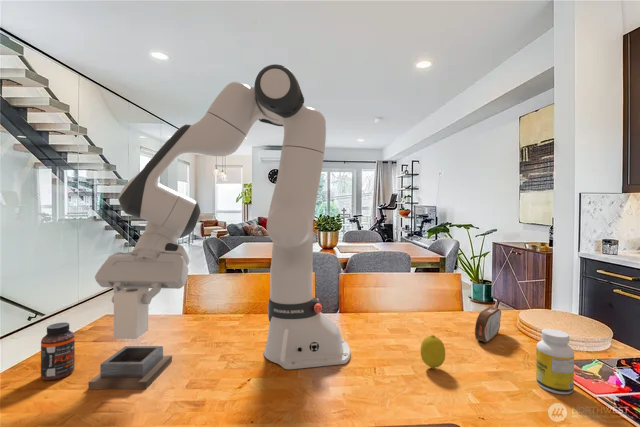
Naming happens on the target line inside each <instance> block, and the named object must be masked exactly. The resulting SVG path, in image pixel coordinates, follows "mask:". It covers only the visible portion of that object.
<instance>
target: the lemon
mask: <svg viewBox="0 0 640 427" xmlns="http://www.w3.org/2000/svg"><path fill="white" fill-rule="evenodd" d="M420 356H421V360H422V362H424V364H425V365H426V366H428V367H430V369H431V368H432V369H431V370H434V369H436V368H439V367H441V366H442V365H443V363H444V362H445V360H446V348H445V345H444V343H443V341H442V340H441V339H440V338H438V336H435V335H434V334H431V335H429V336H426V337H424V339H423V340H422V341H421V345H420Z"/></svg>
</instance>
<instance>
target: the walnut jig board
mask: <svg viewBox="0 0 640 427" xmlns="http://www.w3.org/2000/svg"><path fill="white" fill-rule="evenodd" d="M141 361H142V360H135V361H126V362H141ZM172 362H173V355H163V359H162V360H161V361H160V362H159V363H158V364H157V365H156V366H155V367H154V368H153V369H152V370H151V371H150V372H149V373H148V374H147V375H146V376H145V377H144V378H100V373H98V374H97V375H96V376H95V377H93V378H92V379H91V380H89V381H88V384H87V385H88V388H87V389H88V390H147V389H148V388H149V387H150V386H151V385H152V384H153V383H154V382H155V380H157V378H158V377H159V376H160V375H161V374H162V373H163V372H164V371H165V370H166V369H167V368H168V367H169V366H170V364H171V363H172Z"/></svg>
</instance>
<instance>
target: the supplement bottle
mask: <svg viewBox="0 0 640 427" xmlns="http://www.w3.org/2000/svg"><path fill="white" fill-rule="evenodd" d="M40 340H41V341H40V378H41V379H42V380H44V381H54V380H60V379H62V378H65V377H68V376H69V375H71V374H72V373H73V372H74V371H75V364H76V362H75V361H76V358H75V357H76V356H75V347H76V346H75V344H76V342H75V341H76V340H75V333H74V332H73V331H71V330H70V323H69V322H66V321H65V322H56V323H52V324H50V325H48V326H46V334H45V335H44V336H43V337H42V338H41V339H40Z"/></svg>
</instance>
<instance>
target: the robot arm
mask: <svg viewBox="0 0 640 427" xmlns="http://www.w3.org/2000/svg"><path fill="white" fill-rule="evenodd" d="M304 103H305V97H304V95H303V92H302V90H301V86H300V83H299V82H298V80H297V77H296V76H295V74H294V73H293V72H292V71H291V70H290V69H289V68H288V67H286V66H284V65H281V64H269V65H267V66H264V67H263V68H262V69H261V70H260V71H259V72H258V74H257V75H256V78H255V81H254V87H251V86H249V85H248V84H245V83H243V82H240V81H233V82H229V83H228V84H227V85H225V87H224V88H223V89H222V90H221V91H220V92H219V94H218V95H217V96H216V97H215V99H214V100H213V101H212V103H211V104H210V106H209V108H208V109H207V111H206V112H205V114H204V116H203V117H202V118H201V119H199V121H197V122H195V123H193V124H184V125H182V126H180V128H178V129H177V130H176V131H175V132H174V133H173V135H171V137H170V138H169V139H168V140H166V141H165V143H164V144H163V145H162V146H161V147H160V148H159V150H158V151H157V152H155V154H154V155H153V156H152V158H150V160H149V161H148V162H147V163H146V164H145V165H144V167H143V168H142V170H141V171H140V172H139V173H137V174H136V175H135V176H134V177H132V178H131V179H130V180H129V181H128V182H127V183H126V184H125V185H124V186H123V188H121V191H120V193H119V196H118V199H117V200H118V202H119V204H120V207H121V209H122V211H123V212H124V213H125V214H126V215H129V216H132V217H135V218H137V219H142V220H145V221H147V223H146V225H145V228H144V232H143V233H141V235H140V236H139V238H138V239H137V242H136V244H135V246H134V248H133V250H132V251H131V252H129V251H128V252H122V251H121V252H120V251H119V252H118V251H117V252H116V253H113V254H111V255H109V256H108V257H107V259H106V260H105V261H104V262H103V264H102V265H101V267H100V268H99V269H98V270H97V272H96V273H95V275H94V279H95V282H96V283H97V285H99V286H100V287H101V288H113V289H112V290H113V294H114V293H115V292H118V291H120V290H123V289H125V288H149V292H148V293H147V294H143V295H142V298H141V303H142V304H149V305H150V304H151V302H152V299H153V298H155V297H156V296H157V295H158V294H159V293H160V292H161V290H162V289H177V290H178V289H179V290H180V289H182V288H183V287H184V286H185V285H186V283H187V280H188V276H189V275H188V274H189V267H188V265H189V263H190V258H189V255H188V253H187V251H186V250H185V248H184V246H183V245H182V244H178V243H176V242H177V241H178V240H179V239H182V238H184V237H186V236H189V235H190V234H191V233H192V232H193V231H195V230H194V229H195V228H196V225H197V223H198V220H199V217H200V215H201V209H200V204H199V203H198V201H196V200H195V199H194V198H191V197H189V196H187V195H185V194H183V193H181V192H178V191H176V190H174V189H172V188H170V187H168V186H166V185H164V184H162V183H160V182H159V178H160V177H161V176H162V174H163V173H164V172H165V171H166V170H167V168H168V167H169V166H170V165H171V164H172V163H173V162H174V160H175V159H176V158H177V157H179V156H180V155H183V154H188V153H192V154H200V155H206V156H213V157H226V156H229V155H232V154H234V153H235V152H236V151H238V149H239V148H240V146H241V145H242V144H243V142H244V140H246V137H247V135H248V134H249V131H251V128H252V126H253V125H254V124H255V123H256V122H257V121H259V122H261V123H264V124H268V125H273V126H276V127H283V141H282V147H281V151H280V159H279V163H278V164H279V165H278V172H277V178H276V181H275V185H274V188H273V189H274V190H273V194H272V197H271V201H270V205H269V209H268V215H267V220H266V232H267V235H268V238H269V239H270V240H271V241H272V250H271V251H272V252H271V262H270V267H269V268H270V272H269V273H270V274H269V276H270V278H269V282H270V284H269V286H270V287H269V290H270V291H269V296H270V297H269V299H268V304H267V312H268V313H267V317H268V322H269V324H268V332H267V333H268V334H267V337H266V338H267V339H266V345H265V348H264V351H263V355H264V358H266V360H269V361H270V362H271V363H275V364H278V365H279V366H281V367H282V368H283V369H284V370H297V369H305V368H307V369H308V368H316V367H328V366H335V365H345V364H347V363H348V362H349V361H350V359H351V347H350V345H349V343H348V342H347V340H345V339H344V338H342V335H341V331H340V329H339V328H340V327H339V326H338V325H337V323H336V322H335V321H334V320H332V319H331V318H329V317H328V316H326V315H325V314H324V313H323V312H322V311H323V306H322V304H321V301H320V299H319V298H318V297H317V298H316V297H314V296H313V282H314V281H313V269H314V268H313V264H314V262H313V260H314V259H313V258H314V254H313V252H314V248H313V246H314V217H315V211H316V205H317V199H318V194H319V188H320V187H319V186H320V184H321V175H322V170H323V164H324V156H325V152H326V151H325V149H326V142H327V140H326V139H327V137H326V136H327V134H326V133H327V132H326V131H327V127H326V125H327V124H326V119H325V116H324V115H323V114H322V113H321V112H320V110H317V109H316V108H312V107H309V106H306V105H305V104H304ZM111 302H112V303H113V304H114V295H113V296H112V298H111Z"/></svg>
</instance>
